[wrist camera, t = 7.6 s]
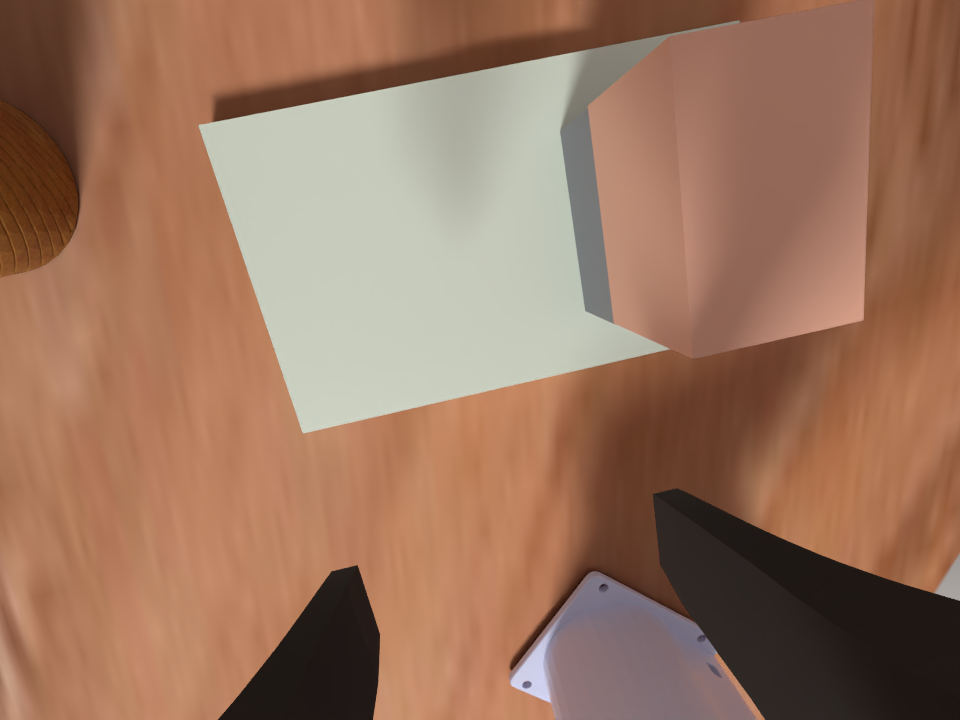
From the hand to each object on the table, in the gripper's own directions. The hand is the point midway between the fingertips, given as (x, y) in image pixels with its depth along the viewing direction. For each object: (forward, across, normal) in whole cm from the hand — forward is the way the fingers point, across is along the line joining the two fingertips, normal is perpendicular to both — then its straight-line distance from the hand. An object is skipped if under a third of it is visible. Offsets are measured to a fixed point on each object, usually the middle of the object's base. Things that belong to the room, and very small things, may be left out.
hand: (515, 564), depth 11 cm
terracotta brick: (+6, -8, -7) cm, 12 cm away
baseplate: (+10, -3, -7) cm, 13 cm away
